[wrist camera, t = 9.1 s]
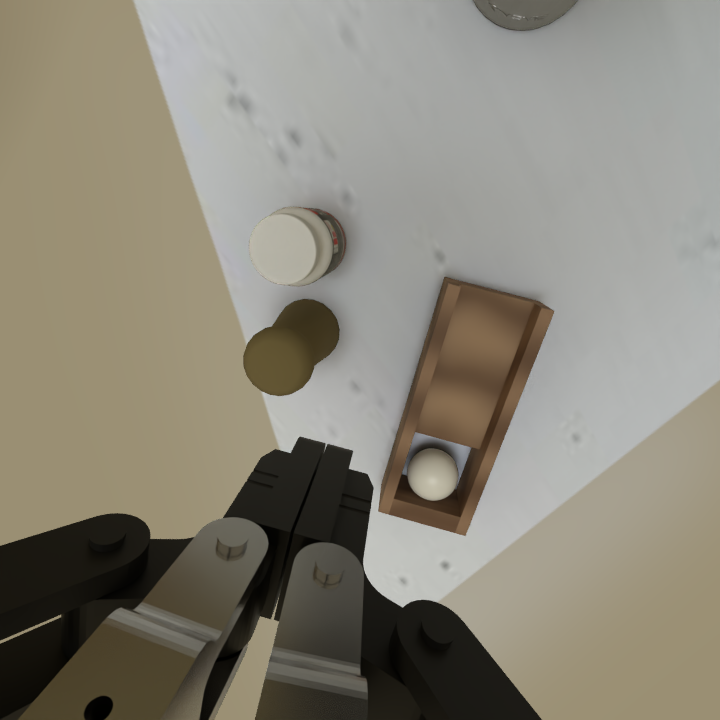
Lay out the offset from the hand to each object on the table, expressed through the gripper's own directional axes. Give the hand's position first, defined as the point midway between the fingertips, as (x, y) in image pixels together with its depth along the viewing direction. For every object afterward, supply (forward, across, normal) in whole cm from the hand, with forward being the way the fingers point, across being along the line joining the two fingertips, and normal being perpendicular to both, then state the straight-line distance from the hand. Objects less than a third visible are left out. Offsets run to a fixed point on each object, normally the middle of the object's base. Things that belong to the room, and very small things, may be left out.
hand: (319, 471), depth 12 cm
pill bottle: (+29, +7, -3) cm, 30 cm away
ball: (+26, -9, +15) cm, 32 cm away
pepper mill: (+29, +6, +5) cm, 30 cm away
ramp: (+29, -9, +8) cm, 31 cm away
